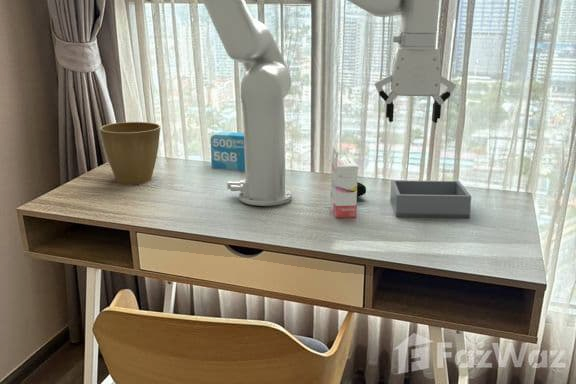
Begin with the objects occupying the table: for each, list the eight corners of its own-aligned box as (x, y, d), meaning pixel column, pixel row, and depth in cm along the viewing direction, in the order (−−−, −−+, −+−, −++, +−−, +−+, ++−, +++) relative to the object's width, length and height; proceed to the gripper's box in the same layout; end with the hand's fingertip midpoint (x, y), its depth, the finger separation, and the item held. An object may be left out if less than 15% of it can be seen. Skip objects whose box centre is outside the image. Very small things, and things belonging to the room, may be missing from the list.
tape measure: (367, 198, 145) (367, 183, 144) (342, 203, 143) (341, 188, 142) (354, 191, 152) (353, 177, 150) (329, 196, 149) (328, 182, 148)
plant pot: (93, 192, 154) (87, 130, 150) (125, 178, 168) (120, 120, 163) (145, 196, 150) (141, 133, 145) (173, 181, 164) (170, 123, 159)
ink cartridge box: (357, 218, 134) (359, 152, 129) (335, 218, 133) (336, 153, 129) (350, 206, 142) (352, 144, 138) (329, 206, 141) (330, 144, 137)
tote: (395, 216, 134) (396, 195, 133) (390, 200, 146) (391, 180, 145) (469, 218, 133) (471, 196, 132) (457, 201, 145) (459, 181, 144)
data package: (211, 176, 169) (209, 134, 165) (217, 172, 173) (216, 131, 170) (252, 179, 165) (251, 136, 162) (257, 175, 170) (256, 133, 166)
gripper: (378, 42, 126) (374, 123, 131) (462, 43, 125) (455, 125, 130) (375, 40, 134) (372, 118, 138) (455, 41, 133) (448, 119, 137)
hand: (412, 121), depth 134 cm, fingers open, 9 cm apart
